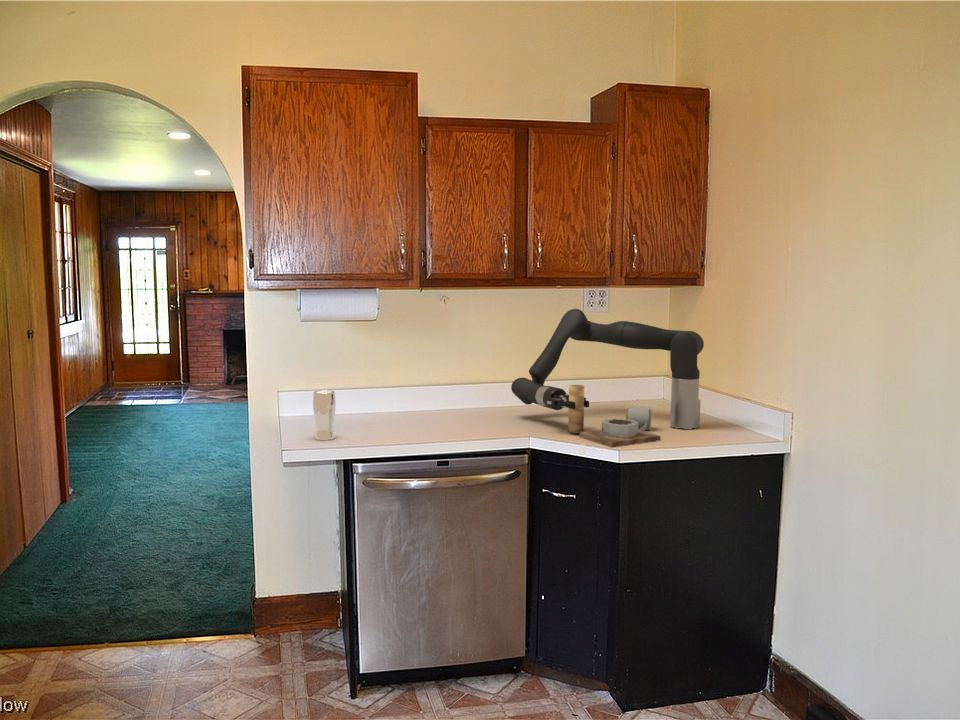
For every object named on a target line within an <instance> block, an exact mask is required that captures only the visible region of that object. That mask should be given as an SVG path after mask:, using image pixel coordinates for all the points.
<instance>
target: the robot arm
mask: <svg viewBox="0 0 960 720" xmlns="http://www.w3.org/2000/svg"><path fill="white" fill-rule="evenodd" d="M569 339H571V340H574V341H580V342H593V343H603V344H606V345H607V344H608V345H613V346H618V347H623V348H629V349H636V350H638V349H639V350H663V351H669V353H670V354H669V355H670V358H669V359H670V360H669V361H670V365H669V366H670V371H671V391H670V395H671V396H670V416H669V417H670V420H669V421H670V422H669V427H671V428H673V427H675V428H674V429H678V428H684V429H683V430H693V429H692V428H695V429H697V428H699V427H698V426H700V423H701V422H700V421H701V419H700V418H701V403H702V401H701V399H699V397H700V394H699V393H700V369H699V367H698V355H699V354H701V352H702V351H703V349H704V346H705V342H704V339H703V338H702V336H701V334H699V333H698V332H696V331H693V330H679V329H678V330H676V329H666V328H661V327H656V326H654V325H649V324H644V323H640V322H634V321H628V320H625V321H624V320H620V321H615V322H612V323H605V324H604V323H597V322H593V321H590V320H588V318H587V315H586V314H585V313H584V312H583V311H582V309H579V308H572V309H570V310H568V311H566V312H565V313H564V314H563V316H562V317H561V319H560V321H559V323H558V325H557V327H556V328H555V330H554V332H553V334H552V336H551V337H550V339H549V341H548V343H547V344H546V346H545V347H544V349H543V350H542V352H541V353H540V355H539V356H538V358H536V360H534V363H533V364H532V365H531V366H530V367H529V370H528V374H529V376H530V377H531V379H529V378H527V377H518V378H516V379H514V381H512V383H511V386H510V389H511V392H512V394H513V395H514V396H516V398H517V399H519V400H520V402H521V403H523V404H525V405H529V406H530V405H532V404H534V405H539V406H541V407H543V408H546V409H550V410H555V411H560V410H563V409H569V408H571V409H575V402H572V401H569V393H567V392H566V391H565V390H564V388H559V387H555V386H550V385H544V384H545V382H546V379H548V378H549V376H550V375H551V373H552V371H553V370H554V369H555V367H556V366H557V365H558V362H559V360H560V357H561V355H562V353H563V352H562V351H563V349H564V347H565V346H566V343H567V342H568V341H569ZM589 407H590V401H589V400H587V397H585V396H584V408H589ZM700 427H701V426H700Z"/></svg>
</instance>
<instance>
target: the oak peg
mask: <svg viewBox="0 0 960 720" xmlns="http://www.w3.org/2000/svg"><path fill="white" fill-rule="evenodd" d="M568 389H569V390H568V394H569V401H572V402H575V409H571V408H568V426H567V430H568V432H571V433H582V432H585V431H584V430H585V429H584V427H585V426H584V425H585V424H584V423H585V422H584V421H585V419H584V418H585V407H584V397H585V385H583V384H570V385H569V386H568Z"/></svg>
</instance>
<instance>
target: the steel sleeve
mask: <svg viewBox="0 0 960 720" xmlns="http://www.w3.org/2000/svg"><path fill="white" fill-rule="evenodd" d="M638 424H639V423H638V422H637V421H634V420H629V419H626V418H606V419H603V420H601V430H602V434H603V435H604V436H608V437H614V438H632V437H636V436H638Z"/></svg>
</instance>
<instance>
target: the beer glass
mask: <svg viewBox="0 0 960 720" xmlns="http://www.w3.org/2000/svg"><path fill="white" fill-rule="evenodd" d="M312 400H313V401H312V408H313V414H314V415H313V416H314V420H315V426H316V427H315V429H316V430H315V436H314V439H315V440H317V441H331V440H334V439H335V437H336V436H335V432H334V431H335V430H334V422H335V415H336V392H335V390H328V389H327V390H315V391H313V399H312Z"/></svg>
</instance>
